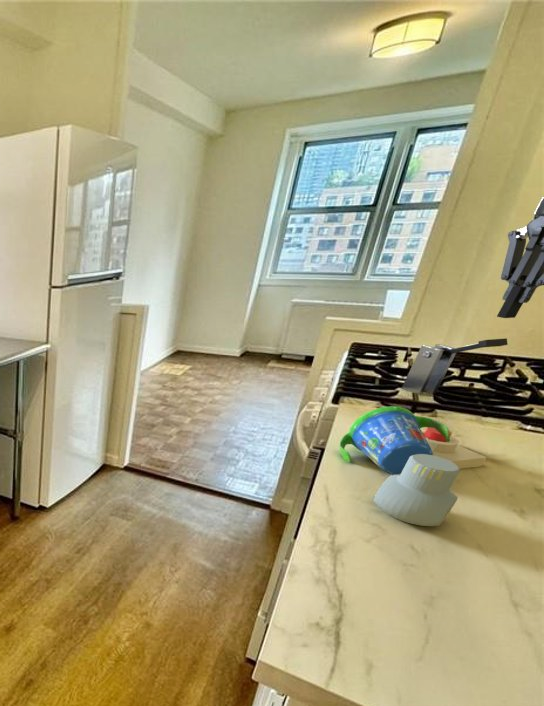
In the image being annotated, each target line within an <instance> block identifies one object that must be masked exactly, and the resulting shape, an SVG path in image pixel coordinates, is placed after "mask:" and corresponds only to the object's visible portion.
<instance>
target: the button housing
mask: <svg viewBox="0 0 544 706" xmlns="http://www.w3.org/2000/svg"><path fill="white" fill-rule="evenodd" d="M421 431H422V432H423V434H424V433H425V431H426V429H421ZM425 438H426V437H425ZM426 440H427V442H428V443H429V445H430V447H431V450H432V452H433V456H437V457H441V458H444V459H446V460H449V461H451V462H453V463H454V464H456V465H457V466H458V468H459V469H460V470H461V469H467V468H477V467H482V466H483V464H484V463H485V461H486V460H487V457H486V456H484V455H482V454H479V453H477V452H475V451H473V450H470V449H468V448H466V447H464V446H461V445H459V443H460V441H459V440H458V439H457V438H455V437H454V436H453V435H451V436H450V441H449V442H439V441H435V440H431V439H428V438H426Z"/></svg>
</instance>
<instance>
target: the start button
mask: <svg viewBox="0 0 544 706" xmlns="http://www.w3.org/2000/svg"><path fill="white" fill-rule="evenodd" d="M425 430H426V431H425V433H424V436H425V437H426V438H428V439H431V440H435V441H439V442H447V441H446V438H445V437H444V436H442V435H441V434H440V433H439V432H438V431H437V430H436V429H435V428H431V427H426V429H425ZM449 434H450V436H452V435H453V434H452V432H451V431H450V430H449Z"/></svg>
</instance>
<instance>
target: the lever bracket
mask: <svg viewBox="0 0 544 706" xmlns="http://www.w3.org/2000/svg"><path fill="white" fill-rule="evenodd" d="M438 348H446V350H449V349H454V348H455V347H451V346H448V345H445V344H440V343H436V344H435V345H434V346H431V345H427V344H421V346H420V348H419V350H418V352H417V355H416V357H415V358H414V361H413V363H412V365H411V368H410V370H409V372H408V373H407V375H406V378H405V380H404V382H403V384H402V387H401V389H402V390H403V391H407V392H410V393H413V394H415V395H418V396H422V395H423V393H424V392H427V393H429V394H431V395H433V394H436V393H437V392H438V390H439V388H440V386H441V384H442V381H443V380H444V377H445V376H446V374H447V372H448V370H449V368H450V366H451V364H452V363H453V360H454V358H455V357H456V355H457V353H452V354H447V358H442V359H440V357H441V355H442V353H443V351H444V350H442V349H438Z"/></svg>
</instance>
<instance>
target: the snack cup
mask: <svg viewBox="0 0 544 706" xmlns="http://www.w3.org/2000/svg"><path fill="white" fill-rule="evenodd" d="M428 427H431V428H435V429H436V430H437V431H438V432H439V433H440V434H441V435H442V436H444V437H445V438H446V441H447V442H449V441H450V434H449V431H450V430H449V428H448V426H446V424H444V423H442V422H440V421H438V420H436V419H434V418H430V417H426V416H419V415H415V414H414V413H413V412H412V411H410V409H407V408H405V407H401V406H383V407H378V408H375V409H372V410H370V411H367V412H365V413H364V414H362V415H361V416H359V417H358V418H357V419H356V420H355V421H354V422H353V423H352V424H351V426H350V427H349V429H348V432H347V433H346V434H343V436H342V437H341V438H340V440H339V451H340V455H341V457H342V458H343V459H344V460H345V461H346V462H348V463H351V462H352V457H351V455H350V453H349V452H348V450H346V449H345V448H346V446H348V445H352V446H354V448H355V449H357V450H358V451H360V452H362V453H364V455H365V456H367V457H368V458H369V459H370V460H371V461H372V462H373V463H374V464H375V465H376V466H377V467H378V468H379V469H381V470H382V471H384V472H386V473H389V474H390V475H400V474H401V472H402V471H403V469H404V467H405V465H406V463H407V461H408V459H409V458H410V456H412V455H416V454H427V455H433V452H432V450H431V447H430V445H429V443H428V442H427V440H426V438H425V436H424V434H423V432H422V431H421V430H422V428H428Z"/></svg>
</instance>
